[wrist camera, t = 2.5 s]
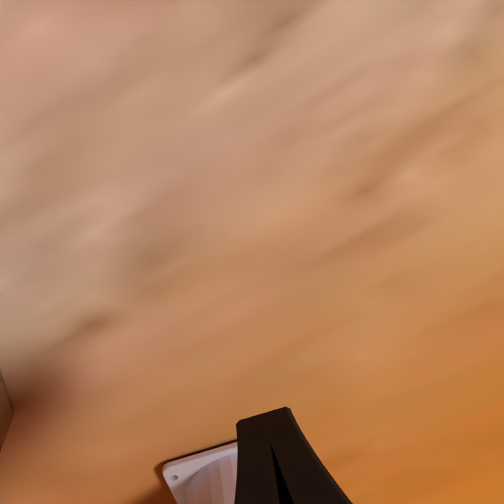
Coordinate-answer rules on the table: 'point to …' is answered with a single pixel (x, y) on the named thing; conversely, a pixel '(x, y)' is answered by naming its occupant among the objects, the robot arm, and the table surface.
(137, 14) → the table surface
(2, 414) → the wooden block
